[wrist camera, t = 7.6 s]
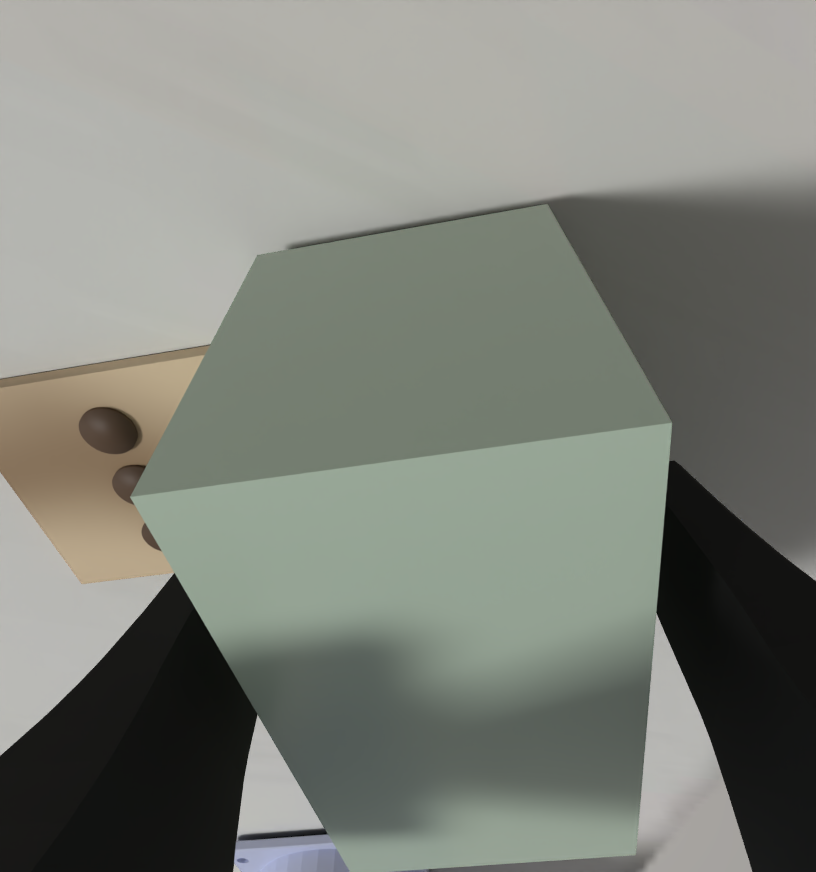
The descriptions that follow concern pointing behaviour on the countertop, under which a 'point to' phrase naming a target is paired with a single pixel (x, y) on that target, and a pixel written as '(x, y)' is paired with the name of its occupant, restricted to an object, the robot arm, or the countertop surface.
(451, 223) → the pale green block
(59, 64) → the countertop surface
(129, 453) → the pad three
